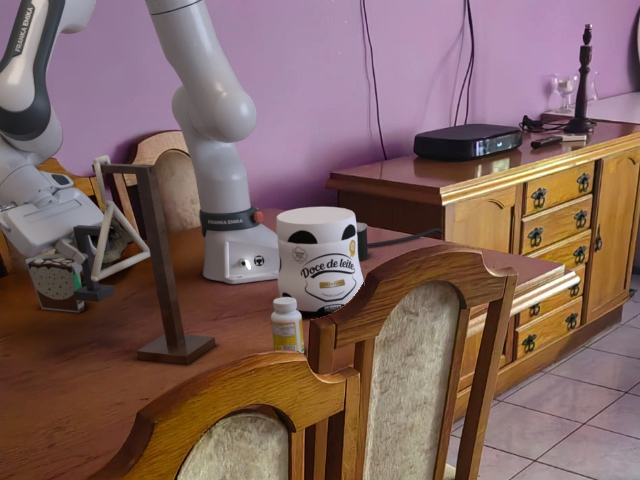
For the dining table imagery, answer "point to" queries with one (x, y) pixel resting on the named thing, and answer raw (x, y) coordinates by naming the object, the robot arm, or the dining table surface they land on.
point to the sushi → (362, 241)
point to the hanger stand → (174, 341)
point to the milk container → (318, 258)
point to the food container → (56, 281)
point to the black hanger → (90, 266)
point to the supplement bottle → (287, 325)
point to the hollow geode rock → (117, 245)
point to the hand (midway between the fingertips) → (89, 259)
